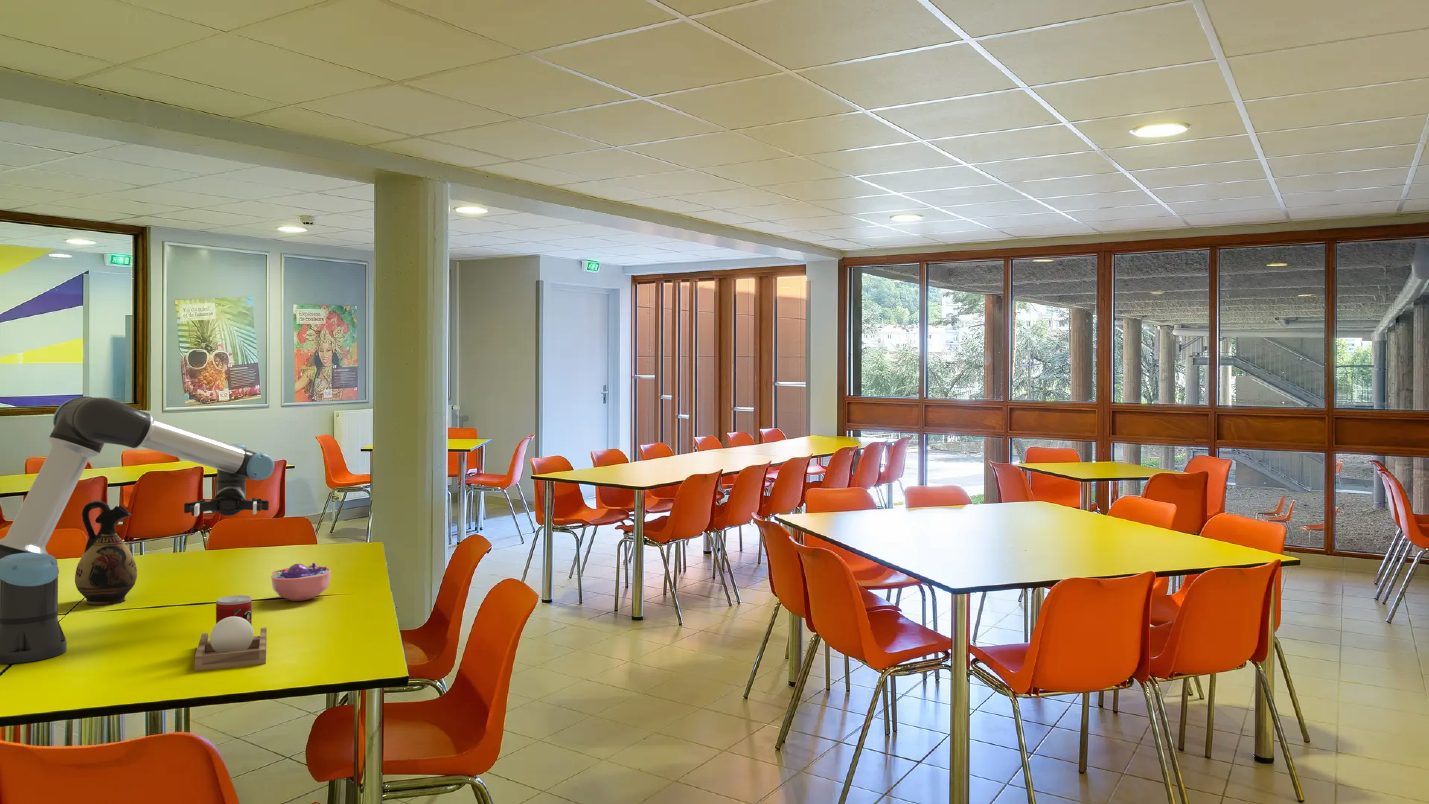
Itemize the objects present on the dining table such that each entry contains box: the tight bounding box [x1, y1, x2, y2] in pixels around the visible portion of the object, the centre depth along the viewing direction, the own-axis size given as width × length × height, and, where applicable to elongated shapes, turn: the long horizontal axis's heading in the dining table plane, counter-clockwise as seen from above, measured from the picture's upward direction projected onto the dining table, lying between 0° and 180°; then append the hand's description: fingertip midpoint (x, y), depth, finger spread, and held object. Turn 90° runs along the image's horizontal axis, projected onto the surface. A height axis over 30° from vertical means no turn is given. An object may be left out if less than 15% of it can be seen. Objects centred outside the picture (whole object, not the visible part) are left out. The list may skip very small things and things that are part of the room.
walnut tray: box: [194, 626, 268, 672], centre depth 220 cm, size 22×14×3 cm, turn 26°
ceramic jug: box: [74, 500, 138, 606], centre depth 272 cm, size 17×15×30 cm
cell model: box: [270, 562, 332, 602], centre depth 279 cm, size 17×20×11 cm
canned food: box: [215, 594, 253, 627], centre depth 226 cm, size 8×8×11 cm
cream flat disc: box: [209, 616, 255, 653], centre depth 216 cm, size 1×9×9 cm, turn 116°
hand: (225, 510), depth 241 cm, fingers open, 13 cm apart
